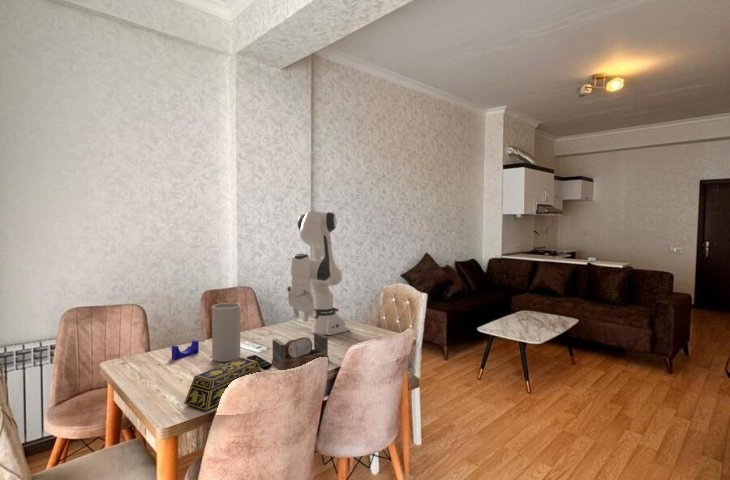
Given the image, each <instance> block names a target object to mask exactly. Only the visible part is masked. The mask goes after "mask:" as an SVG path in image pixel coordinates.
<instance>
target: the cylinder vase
mask: <svg viewBox="0 0 730 480" xmlns="http://www.w3.org/2000/svg"><path fill="white" fill-rule="evenodd" d="M211 324H212V325H211V333H212V334H211V336H212V337H211V355H212V356H211V358H212V360H213V361H214V362H218V363H229V362H231V361H234V360H236V359H239V358H241V304H240V303H237V302H236V303H235V302H221V303H217V304H213V305H212V306H211Z"/></svg>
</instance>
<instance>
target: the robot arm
mask: <svg viewBox="0 0 730 480" xmlns="http://www.w3.org/2000/svg"><path fill="white" fill-rule="evenodd" d="M296 223H297V228H298V230H299V232H300V233H299V235H300V238H301V240H302V242H304V244H306V245H307V246H310V247H311V248H312V256H313V259H310V255H308V254H307V253H296V254H294V255H292V257H291V266H290V275H291V282H290V285H288V286H287V289H286V290H287V292H288V294H287V296H288V297H287V299H288V301H287V302H288V305H289V307H291V308H292V309H293V313H294V317H295V318H300V313H299V311H301V312H303V315H304V316H303V319H302V320H303V322H304V323H305V322H306V323H307V322H309V316H310V314H313V315H312V316H313V323H312V328H311V333H312V334H314V333H317V332H318V333H320V334H322V335H324V336H333V335H336V334H341V333H345V332H348V330H349V331H350V329H349V327H348V326H347V325H346V323H345V319H344V318H343V317H341V316H340V315H339V314H337V313H338V312H339V310H340V309H339V308H337V307H334V295H333V294H334V293H333V292H332V291H331V290H330V287H329V286H337V285H338V284H340V283H341V282H342V277H343V274H342V271H341V269H339V268H338V265H337V264H336V262H335V259H334V257H333V256H334V255H333V251H332V249H333V248H332V238H331V233H332V231H335V229H336V228H337V224H338V220H337V217H336V215H335V213H333V212H330V211H329V212H324V211H323V212H321V211H320V212H318V211H315V210H309V211H308V212H306V213H303V214H300V215H299V216H298V217H297V222H296ZM311 288H312V290H311ZM312 291H313V295H312V293H311V292H312Z"/></svg>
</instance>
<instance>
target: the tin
mask: <svg viewBox="0 0 730 480" xmlns="http://www.w3.org/2000/svg"><path fill="white" fill-rule="evenodd" d="M312 349H313V343H312V339H310V338H309V337H305V336H304V337H299V338H294V339H291V340H288V341H287V342H286V343H285V355H286V357H287V358H289V359H292V358H298V357H302V356H305V355H308V354H310V353H311V351H312Z"/></svg>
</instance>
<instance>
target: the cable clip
mask: <svg viewBox="0 0 730 480" xmlns="http://www.w3.org/2000/svg"><path fill="white" fill-rule="evenodd" d="M199 342H200V341H199V340H197V339H194V340H192V341H191V344H190V346H189V345H188V347H187V348H185V349H184V350H183V351H181V350H180V349H179V346H178V345H176V344H175V345H171V359H172V360H175V361H176V360H179V359H182V358H186V357H189V356H192V355H195V354H199V352H200V351H199V344H200V343H199Z"/></svg>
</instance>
